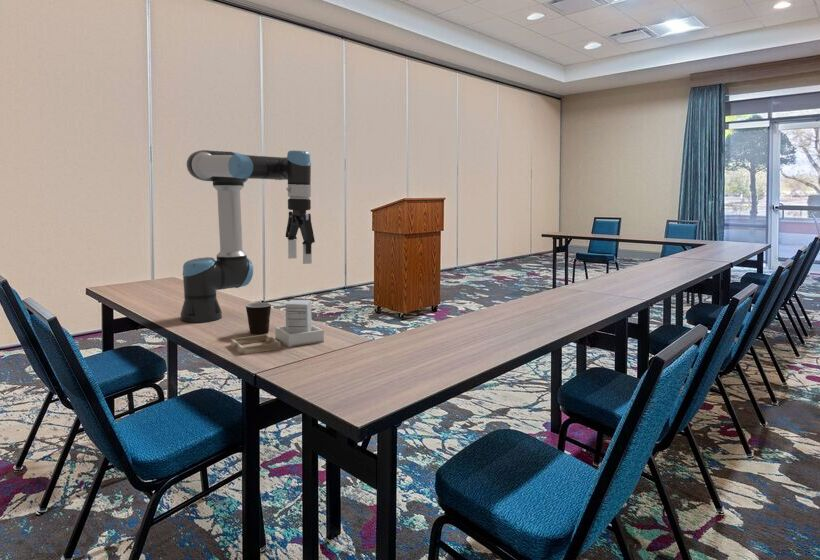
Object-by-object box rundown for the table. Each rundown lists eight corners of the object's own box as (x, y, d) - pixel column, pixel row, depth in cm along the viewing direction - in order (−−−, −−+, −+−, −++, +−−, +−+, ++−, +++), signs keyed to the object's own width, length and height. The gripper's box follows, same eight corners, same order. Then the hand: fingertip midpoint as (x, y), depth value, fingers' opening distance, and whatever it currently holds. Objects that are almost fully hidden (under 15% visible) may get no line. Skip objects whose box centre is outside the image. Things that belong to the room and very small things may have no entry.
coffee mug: (265, 336, 185) (264, 308, 184) (242, 334, 187) (241, 306, 186) (279, 328, 197) (278, 301, 195) (257, 327, 198) (257, 300, 197)
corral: (230, 345, 174) (230, 339, 174) (267, 339, 181) (267, 334, 181) (242, 354, 164) (242, 348, 164) (280, 348, 171) (280, 342, 171)
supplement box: (290, 335, 185) (290, 299, 183) (312, 335, 185) (311, 299, 183) (285, 341, 177) (284, 303, 175) (308, 341, 177) (307, 304, 175)
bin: (275, 338, 183) (275, 327, 182) (309, 333, 189) (308, 322, 189) (289, 347, 173) (288, 335, 172) (323, 341, 179) (323, 330, 179)
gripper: (275, 196, 188) (276, 256, 192) (302, 199, 168) (303, 266, 171) (296, 197, 192) (296, 255, 196) (324, 199, 172) (324, 265, 175)
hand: (299, 261), depth 184 cm, fingers open, 13 cm apart
